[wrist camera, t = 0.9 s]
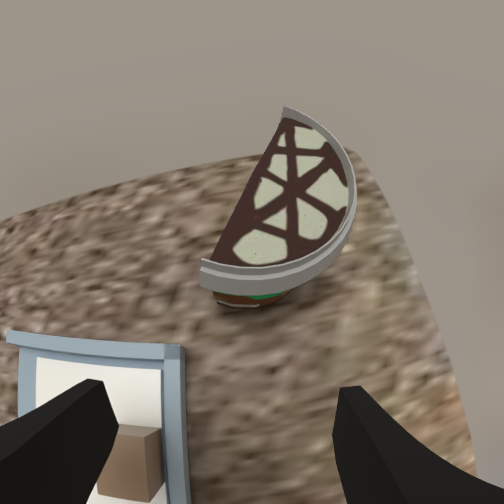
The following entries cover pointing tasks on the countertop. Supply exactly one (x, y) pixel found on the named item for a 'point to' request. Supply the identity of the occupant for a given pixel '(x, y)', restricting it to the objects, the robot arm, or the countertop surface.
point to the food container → (285, 217)
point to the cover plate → (122, 396)
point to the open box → (118, 356)
